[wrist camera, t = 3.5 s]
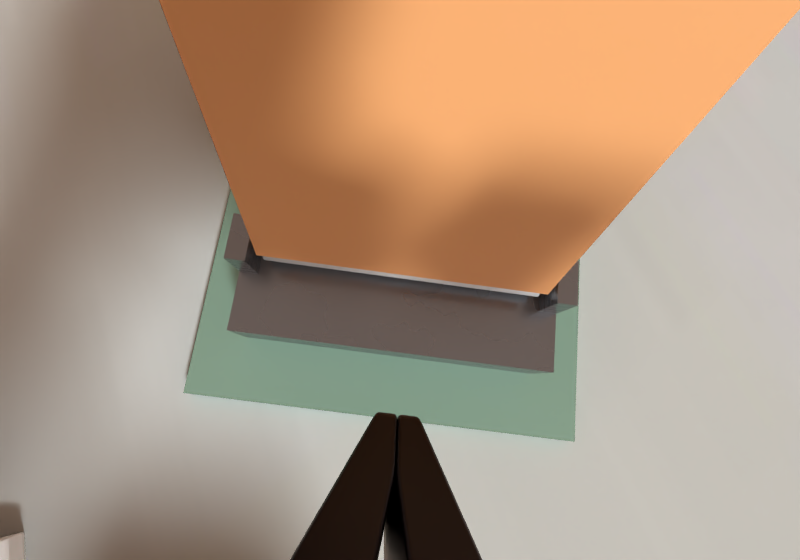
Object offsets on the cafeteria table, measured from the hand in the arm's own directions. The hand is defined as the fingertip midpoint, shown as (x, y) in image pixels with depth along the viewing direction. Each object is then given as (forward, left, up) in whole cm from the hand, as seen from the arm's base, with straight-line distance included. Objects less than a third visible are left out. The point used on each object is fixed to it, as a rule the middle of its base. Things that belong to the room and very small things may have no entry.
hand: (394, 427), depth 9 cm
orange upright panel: (+3, +4, -6) cm, 8 cm away
